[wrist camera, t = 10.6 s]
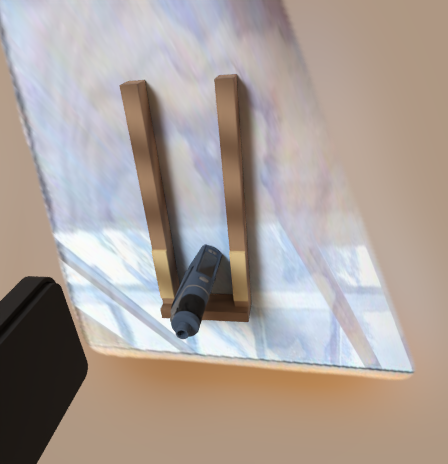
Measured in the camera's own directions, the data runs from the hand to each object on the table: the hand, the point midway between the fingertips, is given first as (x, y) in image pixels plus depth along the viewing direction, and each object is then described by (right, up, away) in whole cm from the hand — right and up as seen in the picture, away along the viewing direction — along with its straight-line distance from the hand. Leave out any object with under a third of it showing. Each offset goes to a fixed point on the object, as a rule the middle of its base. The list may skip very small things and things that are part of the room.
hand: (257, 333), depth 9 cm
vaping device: (-3, -1, +34) cm, 35 cm away
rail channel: (-3, +5, +31) cm, 31 cm away
